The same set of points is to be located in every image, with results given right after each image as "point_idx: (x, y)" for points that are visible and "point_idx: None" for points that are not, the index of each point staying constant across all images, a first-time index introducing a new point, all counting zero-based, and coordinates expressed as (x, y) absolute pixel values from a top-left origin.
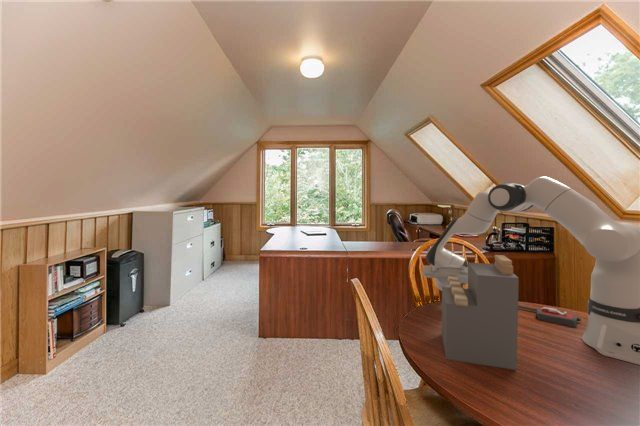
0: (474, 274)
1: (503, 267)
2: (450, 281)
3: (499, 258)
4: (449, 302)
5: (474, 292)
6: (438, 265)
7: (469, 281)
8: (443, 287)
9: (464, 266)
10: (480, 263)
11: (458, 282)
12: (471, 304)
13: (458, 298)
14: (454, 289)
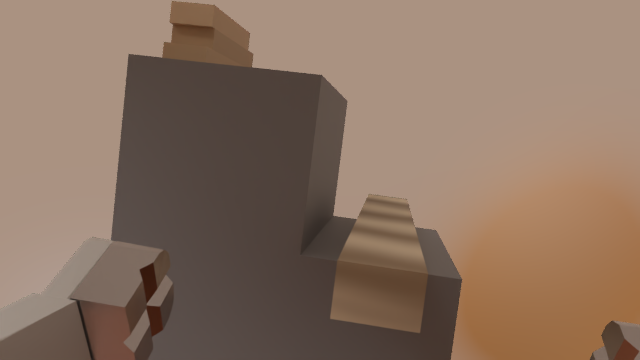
0: (340, 110)
1: (251, 60)
2: (412, 232)
3: (238, 25)
4: (424, 230)
5: (331, 186)
6: (621, 327)
7: (316, 184)
8: (452, 274)
9: (105, 240)
10: (254, 69)
11: (363, 223)
12: (348, 219)
13: (398, 198)
14: (403, 210)
